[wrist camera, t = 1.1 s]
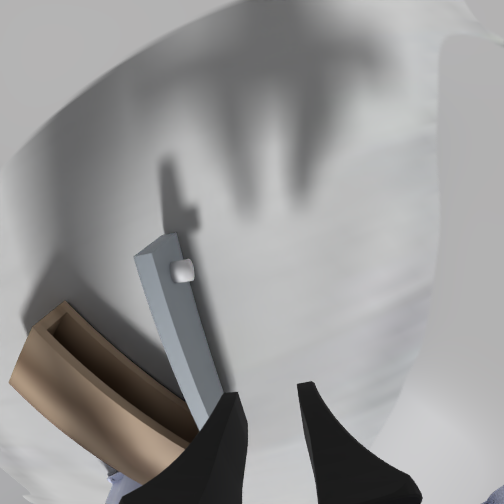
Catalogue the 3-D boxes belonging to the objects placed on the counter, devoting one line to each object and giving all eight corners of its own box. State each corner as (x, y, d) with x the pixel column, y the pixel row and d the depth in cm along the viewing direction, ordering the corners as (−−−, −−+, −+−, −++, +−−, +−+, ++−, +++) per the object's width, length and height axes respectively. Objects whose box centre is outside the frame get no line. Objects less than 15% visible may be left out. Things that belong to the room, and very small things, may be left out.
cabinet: (170, 461, 25) (160, 494, 21) (34, 356, 22) (8, 382, 18) (227, 429, 23) (222, 469, 19) (65, 300, 20) (32, 326, 16)
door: (224, 427, 23) (218, 468, 19) (161, 235, 18) (133, 256, 14) (247, 426, 23) (245, 467, 18) (191, 229, 18) (171, 249, 14)
